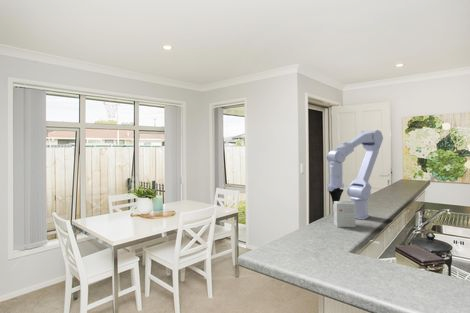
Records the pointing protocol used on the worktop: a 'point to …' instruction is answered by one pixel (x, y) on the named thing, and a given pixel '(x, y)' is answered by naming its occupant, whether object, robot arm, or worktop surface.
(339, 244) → the worktop surface
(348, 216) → the small box
